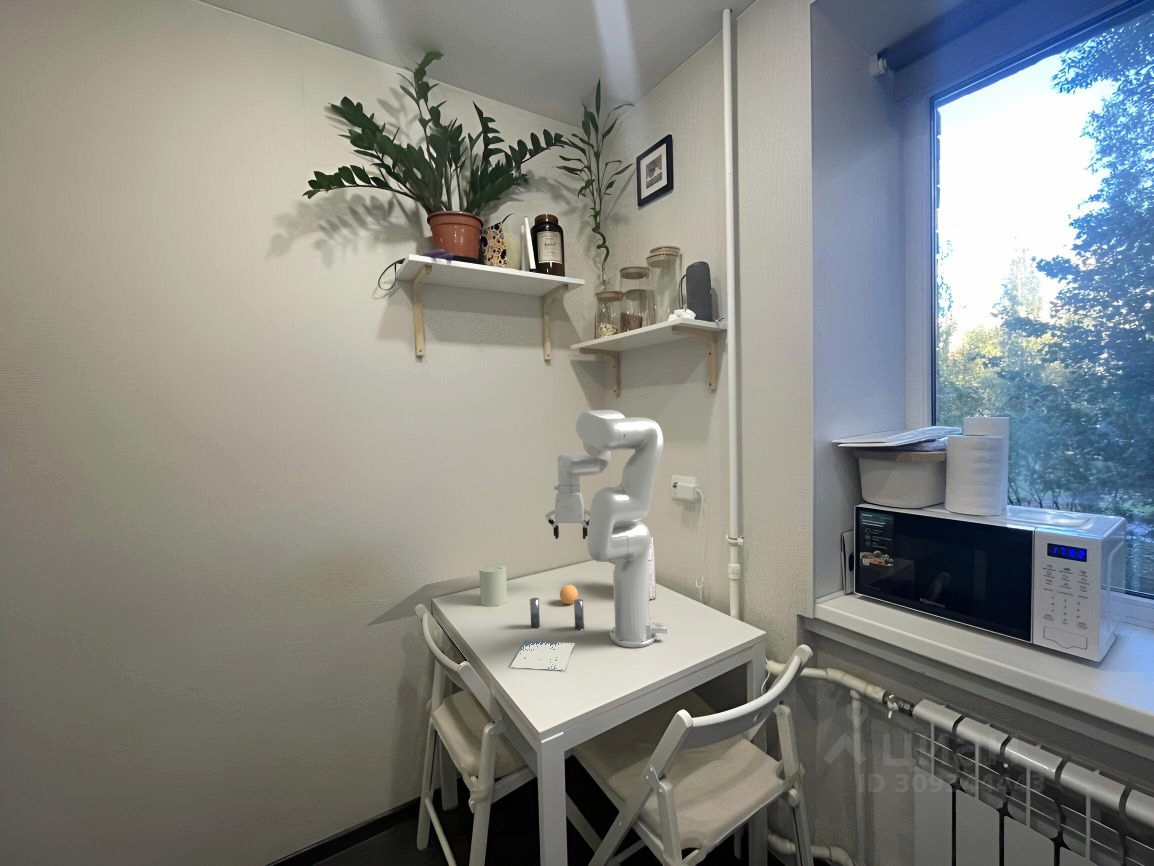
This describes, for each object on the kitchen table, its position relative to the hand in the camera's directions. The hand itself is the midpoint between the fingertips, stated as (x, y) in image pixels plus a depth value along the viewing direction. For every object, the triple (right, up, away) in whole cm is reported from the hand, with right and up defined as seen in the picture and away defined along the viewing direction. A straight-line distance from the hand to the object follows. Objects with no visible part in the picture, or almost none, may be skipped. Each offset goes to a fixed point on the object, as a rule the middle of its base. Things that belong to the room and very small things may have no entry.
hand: (570, 538), depth 157 cm
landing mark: (-6, -20, -42) cm, 47 cm away
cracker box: (+23, -19, -2) cm, 30 cm away
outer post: (-10, -20, -25) cm, 34 cm away
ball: (0, -17, -8) cm, 19 cm away
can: (-26, -21, -4) cm, 33 cm away
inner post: (+3, -20, -27) cm, 34 cm away
